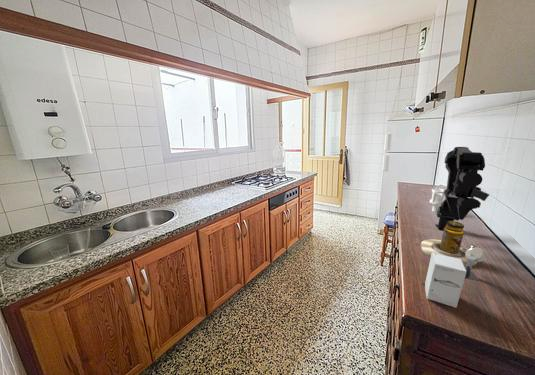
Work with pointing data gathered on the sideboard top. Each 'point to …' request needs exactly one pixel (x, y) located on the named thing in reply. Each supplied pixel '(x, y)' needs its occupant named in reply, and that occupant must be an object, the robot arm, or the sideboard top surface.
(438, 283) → the supplement box
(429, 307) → the sideboard top surface
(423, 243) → the ring
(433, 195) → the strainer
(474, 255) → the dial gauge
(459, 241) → the condiment
